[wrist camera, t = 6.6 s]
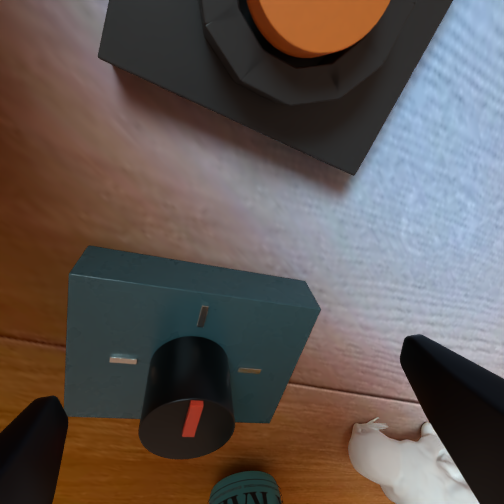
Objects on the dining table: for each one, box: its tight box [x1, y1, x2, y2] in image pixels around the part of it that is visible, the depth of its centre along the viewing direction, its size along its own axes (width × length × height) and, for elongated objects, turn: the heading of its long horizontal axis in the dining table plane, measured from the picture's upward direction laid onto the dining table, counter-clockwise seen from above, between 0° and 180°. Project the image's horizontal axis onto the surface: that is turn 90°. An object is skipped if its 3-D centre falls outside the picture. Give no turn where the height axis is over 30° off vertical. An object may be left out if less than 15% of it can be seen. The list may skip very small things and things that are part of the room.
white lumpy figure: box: [348, 418, 479, 504], centre depth 27 cm, size 6×8×12 cm
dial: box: [139, 336, 235, 459], centre depth 16 cm, size 4×4×4 cm
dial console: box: [64, 246, 321, 423], centre depth 19 cm, size 13×10×3 cm
